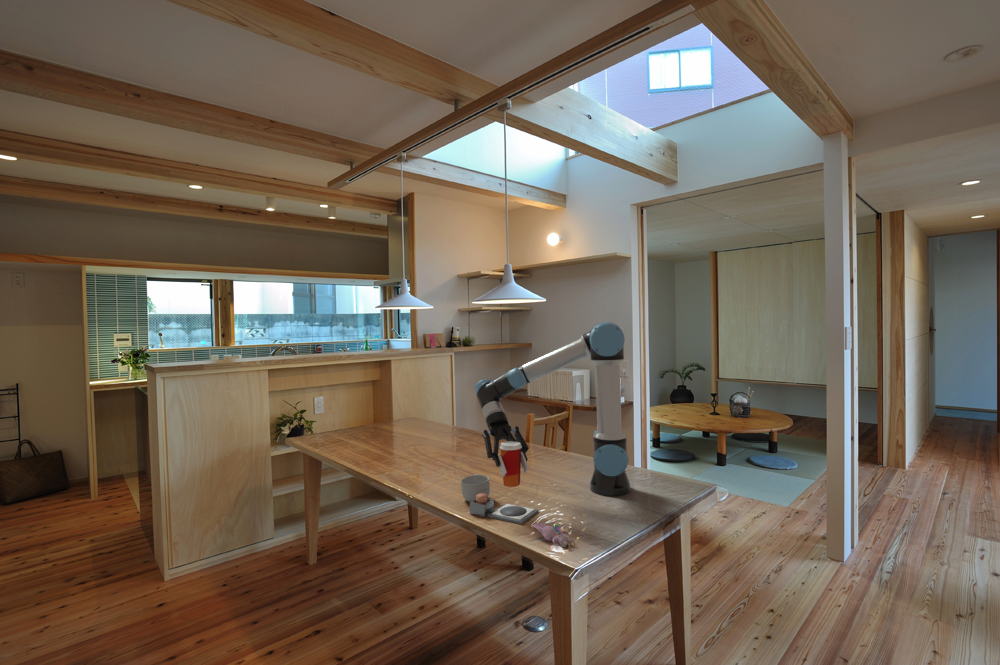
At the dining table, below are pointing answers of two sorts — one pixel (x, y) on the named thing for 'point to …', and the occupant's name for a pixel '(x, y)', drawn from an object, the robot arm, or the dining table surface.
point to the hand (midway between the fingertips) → (515, 472)
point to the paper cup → (511, 462)
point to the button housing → (482, 507)
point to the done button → (481, 498)
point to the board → (513, 513)
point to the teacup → (475, 486)
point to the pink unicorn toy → (553, 534)
